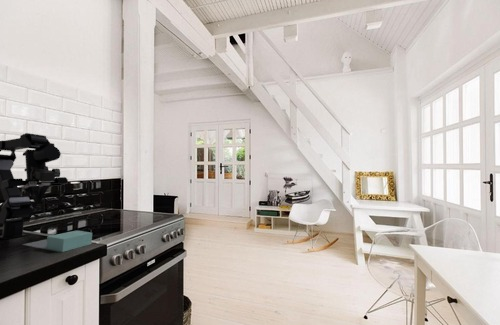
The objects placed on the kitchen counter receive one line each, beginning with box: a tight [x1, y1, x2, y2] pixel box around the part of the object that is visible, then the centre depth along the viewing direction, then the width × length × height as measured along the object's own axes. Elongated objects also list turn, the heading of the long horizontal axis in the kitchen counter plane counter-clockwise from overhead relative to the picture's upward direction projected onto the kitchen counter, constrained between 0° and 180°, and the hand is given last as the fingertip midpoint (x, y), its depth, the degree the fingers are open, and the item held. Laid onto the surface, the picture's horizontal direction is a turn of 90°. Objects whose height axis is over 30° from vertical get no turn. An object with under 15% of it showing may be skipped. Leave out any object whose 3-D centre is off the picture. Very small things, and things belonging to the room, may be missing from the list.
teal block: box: [45, 230, 93, 253], centre depth 80 cm, size 4×10×8 cm
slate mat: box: [21, 238, 61, 253], centre depth 82 cm, size 19×10×1 cm, turn 71°
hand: (38, 204), depth 89 cm, fingers closed
